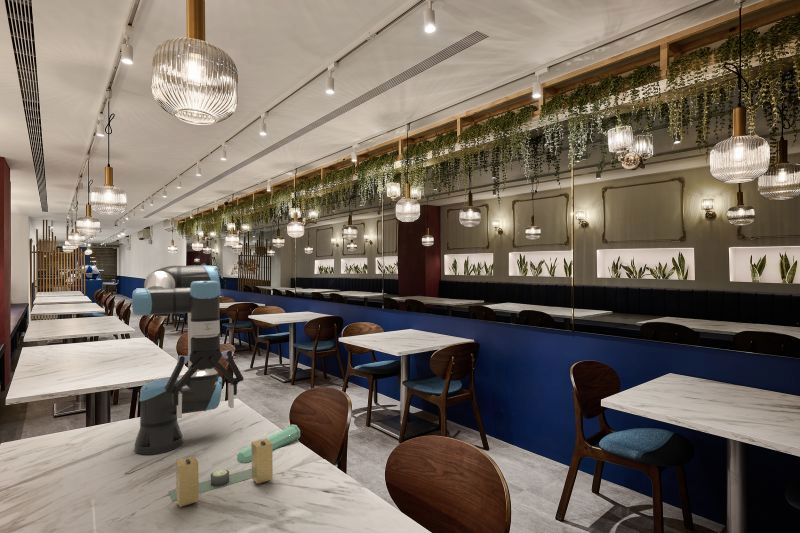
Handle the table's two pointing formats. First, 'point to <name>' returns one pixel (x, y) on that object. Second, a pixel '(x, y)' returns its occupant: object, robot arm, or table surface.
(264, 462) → the knob far
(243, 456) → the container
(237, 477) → the base plate
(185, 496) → the knob near
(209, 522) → the table surface
